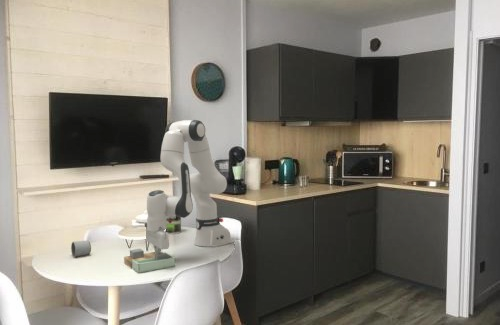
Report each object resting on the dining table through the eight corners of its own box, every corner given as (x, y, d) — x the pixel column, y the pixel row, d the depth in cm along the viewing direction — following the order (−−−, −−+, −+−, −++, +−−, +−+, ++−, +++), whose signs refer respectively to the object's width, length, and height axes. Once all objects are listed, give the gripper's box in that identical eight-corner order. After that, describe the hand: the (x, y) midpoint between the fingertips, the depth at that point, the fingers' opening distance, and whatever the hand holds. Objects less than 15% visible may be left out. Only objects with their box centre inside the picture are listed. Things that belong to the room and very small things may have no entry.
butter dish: (164, 238, 254) (163, 211, 253) (132, 240, 249) (131, 213, 248) (161, 231, 270) (161, 206, 269) (132, 234, 265) (131, 208, 264)
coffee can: (178, 234, 262) (177, 211, 261) (162, 233, 264) (161, 211, 263) (183, 230, 272) (183, 208, 271) (168, 230, 274) (167, 208, 273)
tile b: (140, 254, 207) (140, 248, 207) (143, 257, 203) (143, 250, 203) (130, 256, 204) (129, 250, 204) (133, 258, 200) (133, 252, 200)
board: (160, 256, 214) (160, 250, 214) (168, 261, 206) (168, 255, 205) (124, 263, 204) (124, 256, 204) (131, 268, 196) (130, 261, 196)
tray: (167, 261, 205) (167, 253, 205) (175, 266, 198) (174, 257, 198) (131, 268, 196) (131, 259, 196) (138, 273, 189) (138, 264, 188)
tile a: (165, 252, 201) (167, 253, 199) (165, 263, 201) (167, 264, 199) (154, 254, 198) (157, 255, 196) (155, 264, 199) (157, 266, 196)
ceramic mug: (92, 255, 218) (91, 240, 218) (75, 258, 213) (74, 243, 213) (85, 251, 226) (84, 237, 226) (69, 254, 221) (68, 239, 221)
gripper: (172, 228, 194) (172, 258, 195) (155, 221, 212) (156, 249, 212) (158, 230, 191) (159, 261, 192) (143, 222, 208) (144, 251, 209)
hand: (157, 254), depth 202 cm, fingers closed
